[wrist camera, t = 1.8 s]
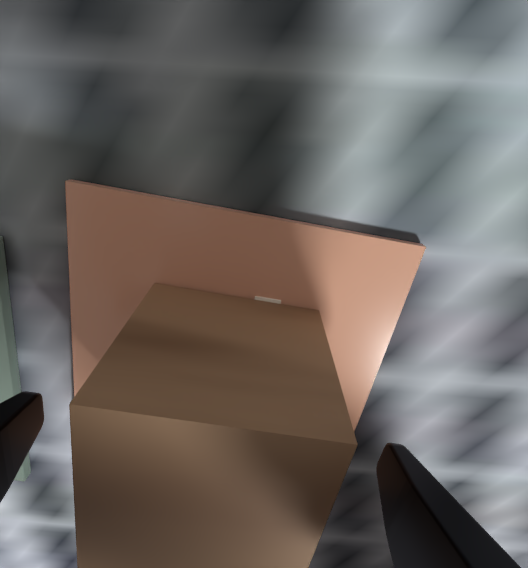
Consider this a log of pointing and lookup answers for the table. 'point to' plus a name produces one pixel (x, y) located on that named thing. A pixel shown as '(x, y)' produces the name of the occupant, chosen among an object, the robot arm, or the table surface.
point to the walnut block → (209, 436)
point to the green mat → (9, 351)
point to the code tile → (232, 272)
